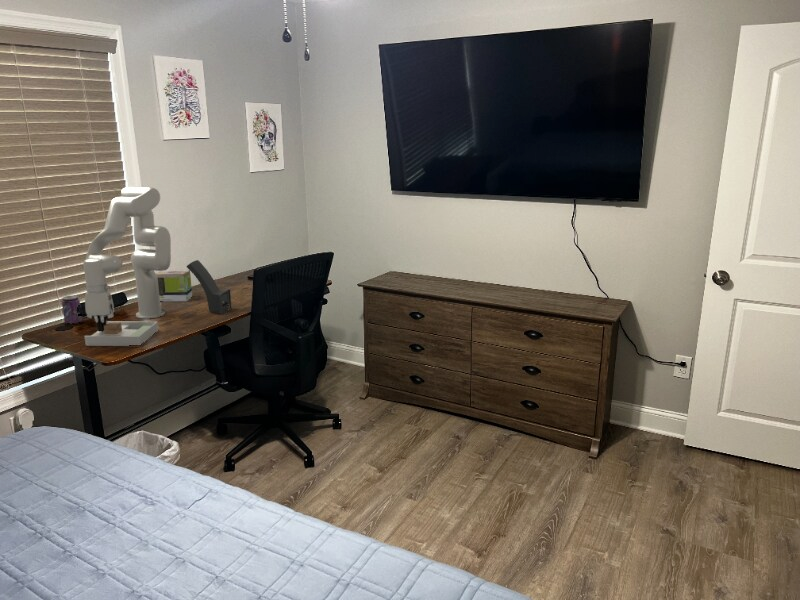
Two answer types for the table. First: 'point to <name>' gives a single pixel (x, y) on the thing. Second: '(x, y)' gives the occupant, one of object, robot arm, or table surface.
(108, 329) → the walnut block
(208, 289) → the light fixture
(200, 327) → the table surface
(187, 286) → the tea box
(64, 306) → the beverage can
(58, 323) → the table surface
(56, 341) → the table surface
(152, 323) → the box
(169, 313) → the table surface
